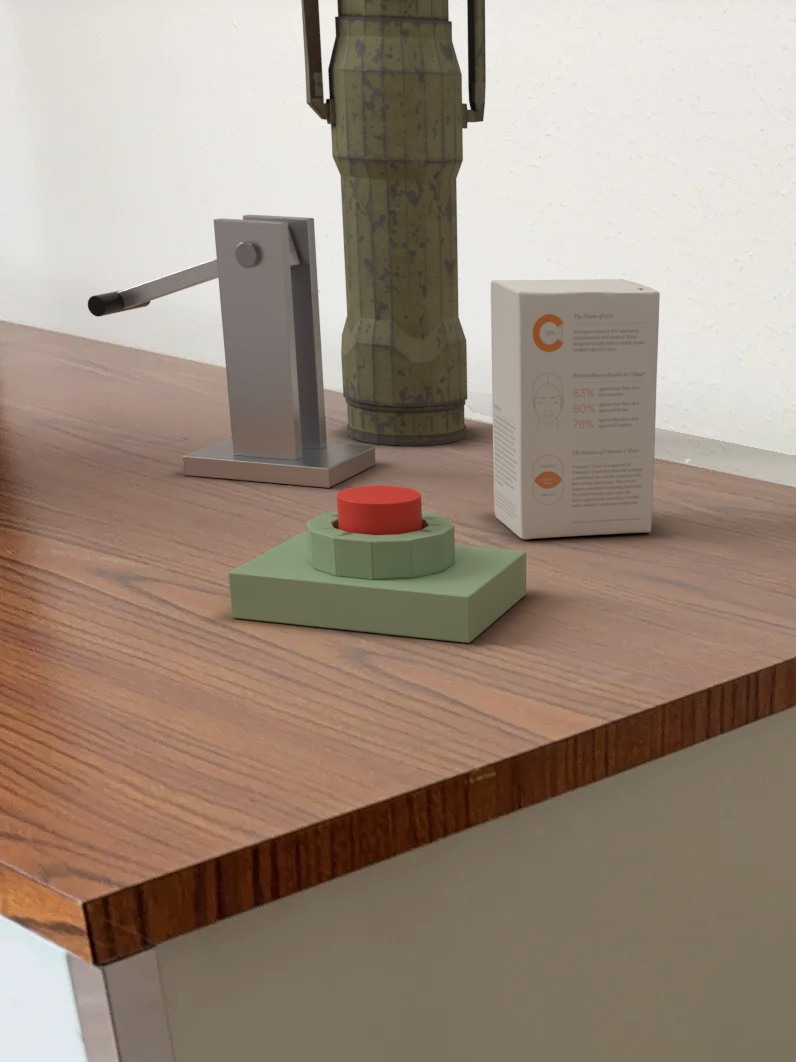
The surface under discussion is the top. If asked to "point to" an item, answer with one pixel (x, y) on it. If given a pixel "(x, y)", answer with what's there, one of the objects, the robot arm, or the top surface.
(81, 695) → the top surface
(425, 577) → the button box
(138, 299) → the lever
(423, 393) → the thermos
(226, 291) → the bracket
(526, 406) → the small box
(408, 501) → the button
